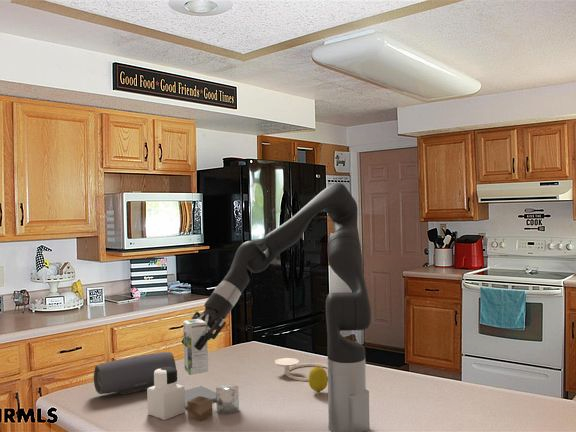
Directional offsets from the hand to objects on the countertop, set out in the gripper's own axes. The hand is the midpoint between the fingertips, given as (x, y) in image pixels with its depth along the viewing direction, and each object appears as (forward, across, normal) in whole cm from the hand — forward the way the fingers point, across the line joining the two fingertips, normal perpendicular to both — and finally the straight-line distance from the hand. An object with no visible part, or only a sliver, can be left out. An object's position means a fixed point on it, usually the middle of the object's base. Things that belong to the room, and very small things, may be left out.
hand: (190, 346), depth 156 cm
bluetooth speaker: (+17, +19, -5) cm, 26 cm away
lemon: (-10, -21, -32) cm, 40 cm away
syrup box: (+4, 0, -7) cm, 8 cm away
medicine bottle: (+18, -5, -3) cm, 19 cm away
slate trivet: (+10, 0, -11) cm, 15 cm away
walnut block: (+15, -13, -7) cm, 21 cm away
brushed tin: (+9, -14, -13) cm, 21 cm away
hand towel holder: (-16, -5, -40) cm, 43 cm away
